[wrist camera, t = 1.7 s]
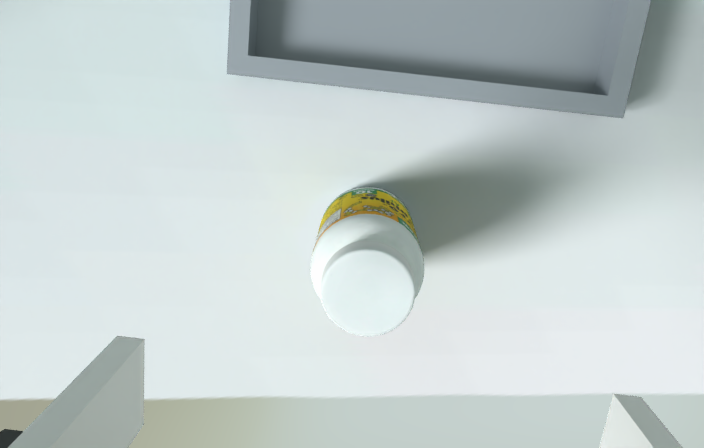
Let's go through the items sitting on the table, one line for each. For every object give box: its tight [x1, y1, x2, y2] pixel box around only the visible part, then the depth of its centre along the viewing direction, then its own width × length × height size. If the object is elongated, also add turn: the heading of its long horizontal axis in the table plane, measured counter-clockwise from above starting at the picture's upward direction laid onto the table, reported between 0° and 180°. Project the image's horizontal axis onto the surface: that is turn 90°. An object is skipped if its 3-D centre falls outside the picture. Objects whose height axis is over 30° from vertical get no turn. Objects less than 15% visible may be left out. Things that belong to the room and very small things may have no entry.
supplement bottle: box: [310, 187, 424, 336], centre depth 28 cm, size 5×5×10 cm
